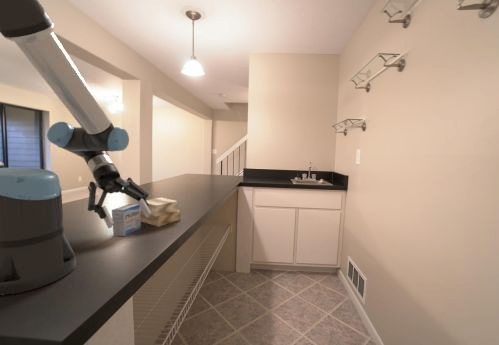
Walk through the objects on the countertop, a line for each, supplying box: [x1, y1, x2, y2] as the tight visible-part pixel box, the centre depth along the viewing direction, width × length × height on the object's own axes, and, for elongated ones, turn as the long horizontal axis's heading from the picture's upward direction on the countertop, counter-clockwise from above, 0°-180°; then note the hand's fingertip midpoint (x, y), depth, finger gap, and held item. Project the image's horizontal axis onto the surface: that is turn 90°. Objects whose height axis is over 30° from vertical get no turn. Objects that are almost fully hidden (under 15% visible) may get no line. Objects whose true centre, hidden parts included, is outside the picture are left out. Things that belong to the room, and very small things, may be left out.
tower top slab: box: [140, 197, 179, 217], centre depth 89 cm, size 9×11×4 cm
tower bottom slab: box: [140, 209, 181, 228], centre depth 90 cm, size 10×12×4 cm
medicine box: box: [111, 203, 142, 237], centre depth 77 cm, size 8×4×9 cm, turn 168°
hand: (131, 220), depth 75 cm, fingers open, 12 cm apart
